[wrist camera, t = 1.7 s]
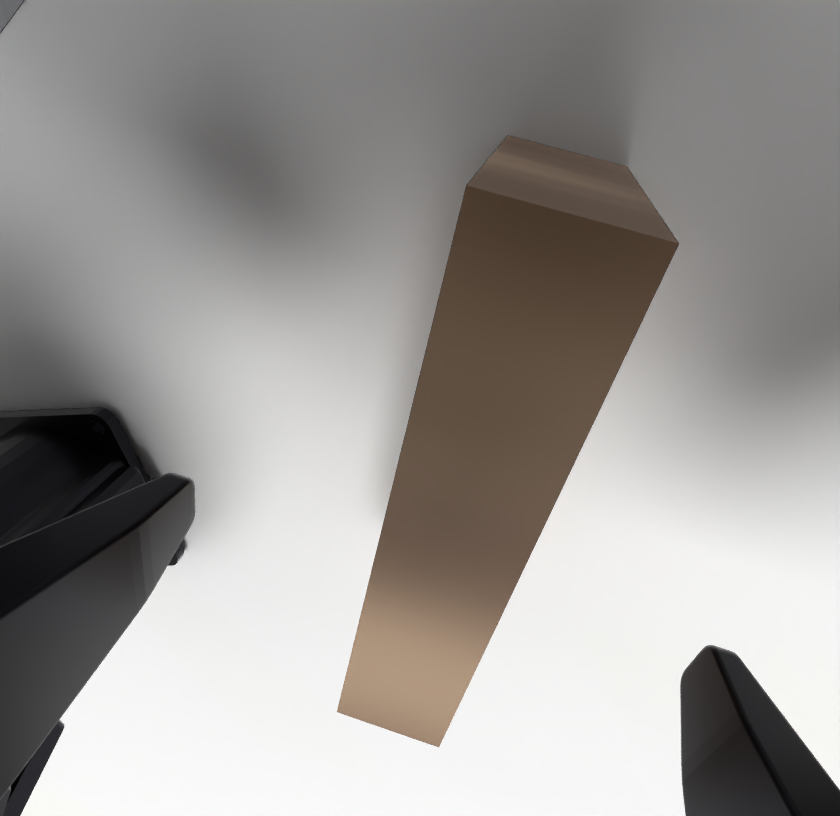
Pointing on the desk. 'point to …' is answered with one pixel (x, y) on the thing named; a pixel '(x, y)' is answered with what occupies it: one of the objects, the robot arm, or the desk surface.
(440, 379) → the panel
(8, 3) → the rack
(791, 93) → the desk surface
